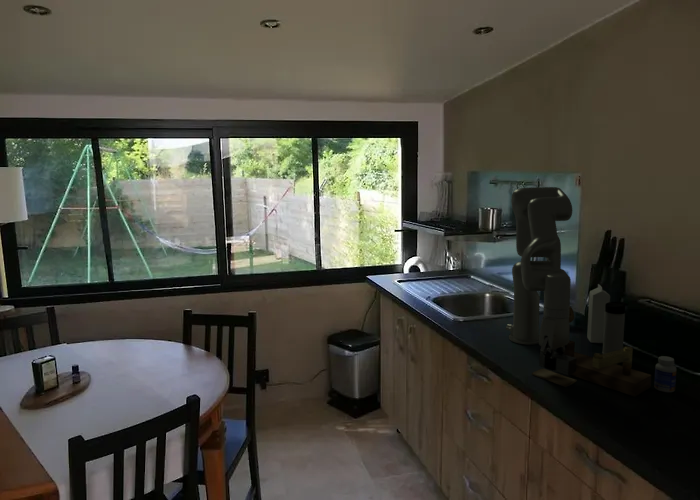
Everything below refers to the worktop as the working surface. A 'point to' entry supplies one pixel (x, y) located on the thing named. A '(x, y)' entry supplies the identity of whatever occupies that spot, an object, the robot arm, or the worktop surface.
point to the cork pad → (554, 377)
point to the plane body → (609, 374)
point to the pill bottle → (665, 374)
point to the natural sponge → (571, 315)
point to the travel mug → (613, 326)
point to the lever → (615, 359)
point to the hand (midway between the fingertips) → (554, 366)
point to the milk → (597, 314)
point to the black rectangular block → (561, 363)
